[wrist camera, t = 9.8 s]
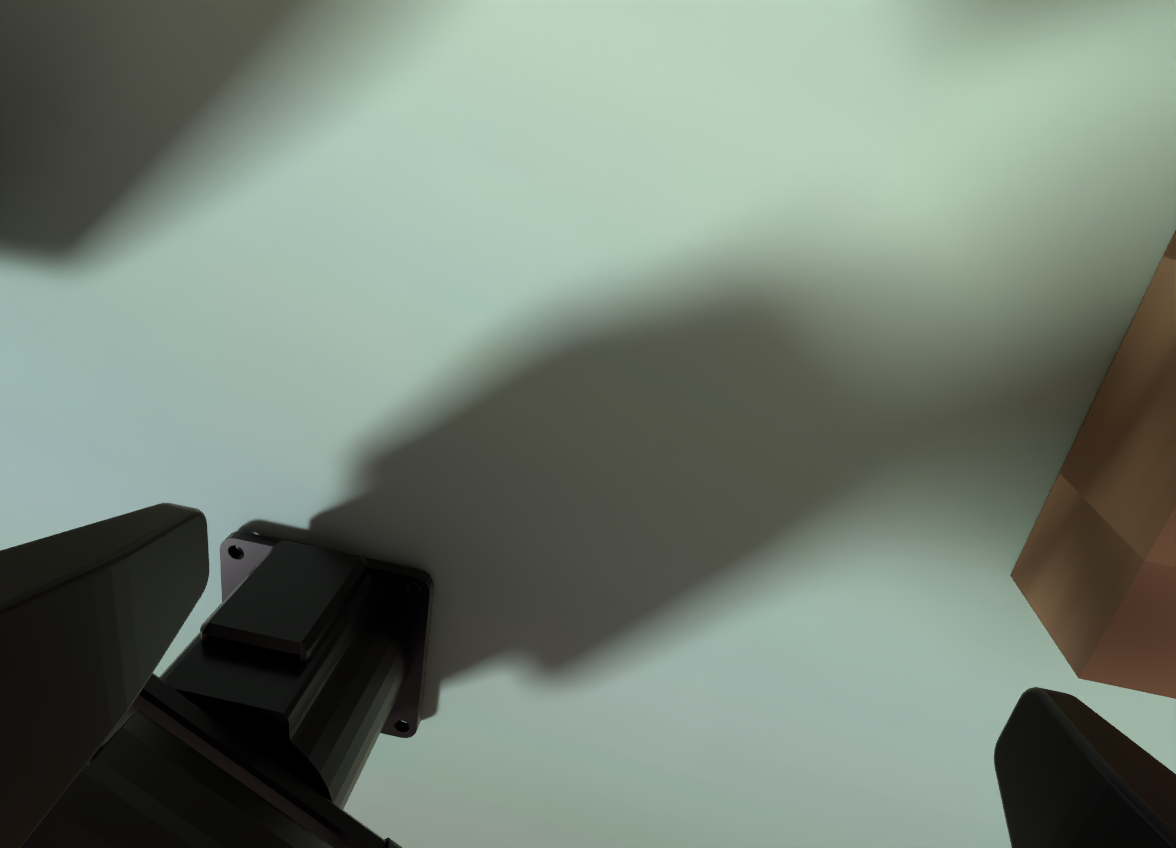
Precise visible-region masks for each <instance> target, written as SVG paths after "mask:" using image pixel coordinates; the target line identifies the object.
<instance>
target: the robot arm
mask: <svg viewBox="0 0 1176 848" xmlns="http://www.w3.org/2000/svg"><path fill="white" fill-rule="evenodd" d="M235 545H236V546H238V547H240V548H241V549H242V550H243V552H241V551H239V550H238V549H237V548H236V546H235ZM220 560H221V583H222V603H221V604H220V606H219V607H218V608H217V609H216V610H215V611H214V612H213V613H212V614H211V615H210V617H209V618H208V619H207V620H206V621H205V622H204V623H203V624H202V626H201V628H200V633H199V634H198V635H197V636H196V637H195V638H194V639H193V640H192V642H191V643H190V644H189V645H188V646H187V647H186V648H185V649H184V650H183V652H182V653H181V654H180V655H179V656H178V657H177V658H176V659H175V660H174V661H173V663H172V664H171V665H170V666H169V667H168V668H167V669H166V670H165V671H164V673H163V674H162V675H161V676H160V677H158V676H156V675H155V674H154V673H153V671H154V670H155V668H156V667H157V665H158V663H159V662H160V660H161V659H162V657H163V655H164V654H165V652H166V651H167V649H168V648H169V646H170V644H171V643H172V641H173V640H174V638H175V637H176V635H177V633H178V632H179V630H180V629H181V627H182V625H183V624H184V622H185V621H186V619H187V618H188V616H189V614H190V613H191V611H192V610H193V608H194V607H195V605H196V603H197V602H198V600H199V599H200V597H201V595H202V594H203V592H204V590H205V587H206V585H207V581H208V577H209V554H208V534H207V521H206V518H205V515H204V514H203V513H202V512H201V511H200V510H199V509H196V508H191V507H186V506H182V505H177V504H172V503H161V504H157V505H154V506H151V507H147V508H144V509H140V510H137V511H134V512H130V513H127V514H123V515H120V516H117V517H113V518H110V519H106V520H103V521H100V522H96V523H93V524H89V525H86V526H83V527H79V528H76V529H72V530H69V531H66V532H62V533H59V534H55V535H52V536H49V537H45V538H42V539H38V540H35V541H32V542H28V543H25V544H22V545H18V546H15V547H11V548H8V549H5V550H1V551H0V848H402V847H401V846H399V845H398V844H397V843H395V842H394V841H392V840H391V839H390V838H386V839H385V840H384V839H383V838H381V837H380V836H378V835H377V834H376V833H374V832H373V831H372V830H370V829H369V828H367V827H366V826H365V825H363V824H362V823H360V822H359V821H358V820H356V819H355V818H354V817H352V816H351V815H349V814H348V813H347V812H345V811H344V810H343V809H344V807H345V804H346V802H347V800H348V798H349V796H350V794H351V792H352V790H353V788H354V786H355V784H356V782H357V780H358V777H359V775H360V773H361V771H362V769H363V767H364V765H365V763H366V761H367V759H368V757H369V755H370V753H371V751H372V748H373V746H374V744H375V742H376V740H377V738H378V736H379V734H380V733H383V734H388V735H392V736H397V737H401V738H408V737H412V736H413V735H414V734H415V733H416V731H417V728H418V726H419V724H420V721H421V712H422V702H423V692H424V682H425V672H426V661H427V651H428V641H429V631H430V621H431V611H432V601H433V590H434V583H433V580H432V578H431V576H430V575H429V574H428V573H426V572H425V571H423V570H420V569H416V568H411V567H407V566H402V565H397V564H392V563H388V562H383V561H378V560H374V559H369V558H364V557H360V556H357V555H352V554H347V553H342V552H338V551H333V550H328V549H324V548H319V547H314V546H310V545H305V544H300V543H295V542H291V541H286V540H280V539H275V538H270V537H266V536H261V535H256V534H251V533H247V532H239V531H236V532H234V533H231V534H230V535H229V536H228V537H227V538H226V539H225V540H224V541H223V542H222V544H221V547H220ZM413 583H414V584H416V585H418V586H419V587H420V588H421V590H417V589H415V588H413V587H412V586H411V585H410V584H413ZM401 720H402V721H405V722H407V723H404V722H402V721H401ZM994 765H995V771H996V775H997V780H998V785H999V790H1000V794H1001V799H1002V804H1003V809H1004V813H1005V818H1006V823H1007V827H1008V832H1009V837H1010V842H1011V846H1012V848H1176V774H1175V773H1173V772H1172V771H1171V770H1169V769H1168V768H1167V767H1166V766H1164V765H1163V764H1162V763H1160V762H1159V761H1158V760H1156V759H1155V758H1154V757H1153V756H1151V755H1150V754H1149V753H1147V752H1146V751H1145V750H1143V749H1142V748H1141V747H1140V746H1138V745H1137V744H1136V743H1134V742H1133V741H1132V740H1131V739H1129V738H1128V737H1127V736H1125V735H1124V734H1123V733H1121V732H1120V731H1119V730H1118V729H1116V728H1115V727H1114V726H1112V725H1111V724H1110V723H1109V722H1107V721H1106V720H1105V719H1103V718H1102V717H1101V716H1099V715H1098V714H1097V713H1096V712H1094V711H1093V710H1092V709H1090V708H1089V707H1088V706H1086V705H1085V704H1084V703H1083V702H1081V701H1080V700H1079V699H1077V698H1076V697H1074V696H1072V695H1070V694H1067V693H1062V692H1057V691H1052V690H1048V689H1043V688H1038V687H1034V688H1030V689H1027V690H1026V691H1025V692H1024V693H1023V694H1022V695H1021V697H1020V699H1019V700H1018V702H1017V704H1016V706H1015V708H1014V710H1013V712H1012V714H1011V716H1010V717H1009V719H1008V721H1007V723H1006V725H1005V727H1004V729H1003V731H1002V733H1001V734H1000V736H999V738H998V740H997V743H996V747H995V752H994Z"/></svg>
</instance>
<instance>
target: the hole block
mask: <svg viewBox="0 0 1176 848" xmlns="http://www.w3.org/2000/svg"><path fill="white" fill-rule="evenodd" d="M1010 576H1011V577H1012V579H1013V580H1014V582H1015V583H1016V585H1017V586H1018V588H1019V589H1020V591H1021V592H1022V594H1023V595H1024V597H1025V598H1026V600H1027V601H1028V603H1029V604H1030V606H1031V607H1032V609H1033V610H1034V612H1035V613H1036V615H1037V616H1038V618H1039V619H1040V621H1041V622H1042V624H1043V625H1044V627H1045V628H1046V630H1047V631H1048V633H1049V634H1050V636H1051V637H1052V639H1053V640H1054V642H1055V643H1056V645H1057V646H1058V648H1059V649H1060V651H1061V652H1062V654H1063V655H1064V657H1065V658H1066V660H1067V661H1068V663H1069V664H1070V666H1071V667H1072V669H1073V671H1074V672H1075V674H1076V675H1077V677H1078V678H1080V679H1085V680H1090V681H1095V682H1099V683H1104V684H1109V685H1113V686H1118V687H1123V688H1128V689H1132V690H1137V691H1142V692H1147V693H1151V694H1156V695H1161V696H1166V697H1170V698H1175V699H1176V231H1175V233H1174V235H1173V237H1172V239H1171V241H1170V243H1169V245H1168V248H1167V250H1166V252H1165V254H1164V256H1163V258H1162V260H1161V262H1160V264H1159V266H1158V268H1157V270H1156V273H1155V275H1154V277H1153V279H1152V281H1151V283H1150V285H1149V287H1148V289H1147V291H1146V293H1145V295H1144V298H1143V300H1142V302H1141V304H1140V306H1139V308H1138V310H1137V312H1136V314H1135V316H1134V318H1133V321H1132V323H1131V325H1130V327H1129V329H1128V331H1127V333H1126V335H1125V337H1124V339H1123V341H1122V343H1121V346H1120V348H1119V350H1118V352H1117V354H1116V356H1115V358H1114V360H1113V362H1112V364H1111V366H1110V369H1109V371H1108V373H1107V375H1106V377H1105V379H1104V381H1103V383H1102V385H1101V387H1100V389H1099V391H1098V394H1097V396H1096V398H1095V400H1094V402H1093V404H1092V406H1091V408H1090V410H1089V412H1088V414H1087V416H1086V419H1085V421H1084V423H1083V425H1082V427H1081V429H1080V431H1079V433H1078V435H1077V437H1076V439H1075V442H1074V444H1073V446H1072V448H1071V450H1070V452H1069V454H1068V456H1067V458H1066V460H1065V462H1064V464H1063V467H1062V469H1061V471H1060V473H1059V475H1058V477H1057V479H1056V481H1055V483H1054V485H1053V487H1052V490H1051V492H1050V494H1049V496H1048V498H1047V500H1046V502H1045V504H1044V506H1043V508H1042V510H1041V512H1040V515H1039V517H1038V519H1037V521H1036V523H1035V525H1034V527H1033V529H1032V531H1031V533H1030V535H1029V537H1028V540H1027V542H1026V544H1025V546H1024V548H1023V550H1022V552H1021V554H1020V556H1019V558H1018V560H1017V563H1016V565H1015V567H1014V569H1013V571H1012V573H1011V575H1010Z"/></svg>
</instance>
